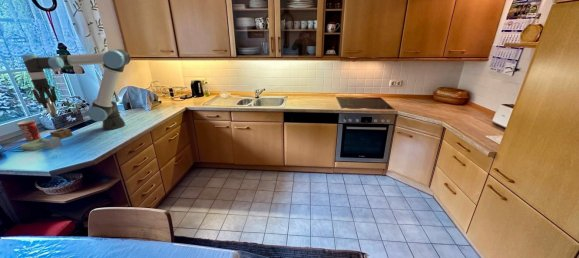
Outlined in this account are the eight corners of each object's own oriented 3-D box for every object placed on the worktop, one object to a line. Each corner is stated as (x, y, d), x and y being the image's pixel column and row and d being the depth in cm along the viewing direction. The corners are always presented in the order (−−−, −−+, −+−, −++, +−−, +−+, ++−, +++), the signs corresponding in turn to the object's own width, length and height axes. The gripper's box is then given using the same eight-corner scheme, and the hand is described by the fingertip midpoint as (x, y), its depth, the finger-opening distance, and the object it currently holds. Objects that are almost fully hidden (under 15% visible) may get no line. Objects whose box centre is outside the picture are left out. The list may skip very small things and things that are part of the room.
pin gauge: (55, 116, 173) (47, 97, 168) (58, 116, 173) (50, 97, 167) (50, 117, 170) (42, 98, 165) (53, 117, 170) (45, 98, 165)
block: (55, 145, 164) (52, 137, 162) (62, 145, 163) (59, 137, 161) (45, 148, 159) (41, 140, 157) (52, 149, 158) (49, 141, 156)
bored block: (64, 134, 182) (61, 128, 180) (72, 135, 180) (70, 129, 178) (52, 138, 174) (49, 132, 173) (61, 139, 173) (58, 133, 171)
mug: (22, 140, 172) (13, 123, 167) (37, 136, 180) (30, 119, 175) (32, 143, 168) (24, 125, 163) (48, 138, 176) (40, 120, 171)
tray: (42, 142, 169) (40, 138, 168) (55, 143, 167) (53, 139, 166) (21, 149, 158) (19, 145, 157) (35, 151, 156) (33, 146, 155)
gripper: (47, 76, 169) (60, 108, 178) (20, 80, 155) (35, 114, 164) (56, 76, 168) (68, 108, 177) (28, 80, 153) (43, 115, 162)
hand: (52, 111), depth 170 cm, fingers closed on pin gauge, 3 cm apart
